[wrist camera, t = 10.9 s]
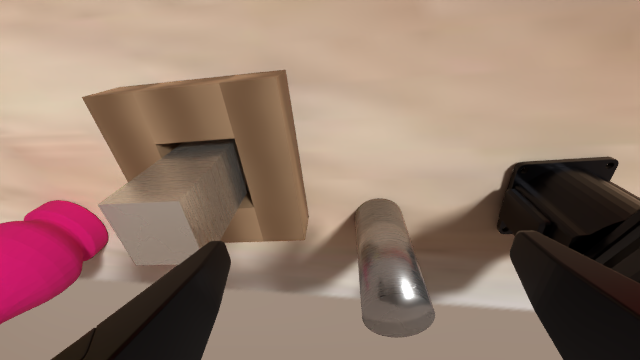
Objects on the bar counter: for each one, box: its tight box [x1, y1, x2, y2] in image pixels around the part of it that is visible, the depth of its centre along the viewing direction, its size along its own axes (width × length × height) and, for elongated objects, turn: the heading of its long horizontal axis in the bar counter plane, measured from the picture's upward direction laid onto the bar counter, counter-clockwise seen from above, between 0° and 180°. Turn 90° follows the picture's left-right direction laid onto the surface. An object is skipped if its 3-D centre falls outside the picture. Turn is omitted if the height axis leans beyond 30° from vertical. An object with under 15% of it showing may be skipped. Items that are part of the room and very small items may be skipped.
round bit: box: [355, 199, 435, 337], centre depth 19 cm, size 4×4×9 cm
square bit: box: [98, 138, 249, 265], centre depth 17 cm, size 4×4×9 cm
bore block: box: [82, 70, 309, 243], centre depth 19 cm, size 12×12×3 cm
